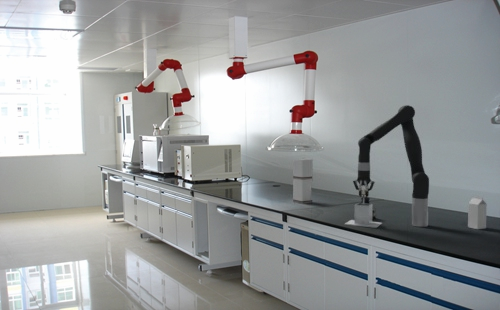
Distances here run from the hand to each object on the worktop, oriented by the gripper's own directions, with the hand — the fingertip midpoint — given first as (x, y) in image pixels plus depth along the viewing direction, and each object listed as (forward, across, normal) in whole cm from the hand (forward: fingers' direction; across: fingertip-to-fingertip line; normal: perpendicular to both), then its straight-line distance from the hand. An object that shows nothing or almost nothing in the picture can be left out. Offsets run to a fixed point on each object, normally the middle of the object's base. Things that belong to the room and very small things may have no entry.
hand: (363, 196), depth 303 cm
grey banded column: (+18, +66, -63) cm, 93 cm away
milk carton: (+18, -64, -20) cm, 69 cm away
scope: (+18, +3, -20) cm, 27 cm away
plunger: (+12, 0, 0) cm, 12 cm away
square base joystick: (+17, 0, 0) cm, 17 cm away
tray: (+17, 0, 0) cm, 17 cm away
